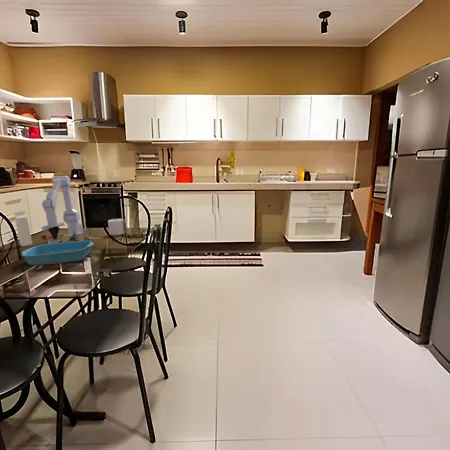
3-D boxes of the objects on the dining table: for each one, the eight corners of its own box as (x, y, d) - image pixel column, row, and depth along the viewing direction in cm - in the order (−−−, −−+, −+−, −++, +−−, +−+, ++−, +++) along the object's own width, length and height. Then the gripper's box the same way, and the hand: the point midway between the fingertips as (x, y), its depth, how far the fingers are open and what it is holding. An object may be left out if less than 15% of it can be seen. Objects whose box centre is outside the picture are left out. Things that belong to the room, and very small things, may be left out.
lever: (62, 234, 214) (61, 231, 213) (65, 235, 213) (64, 231, 212) (46, 239, 203) (45, 235, 202) (49, 239, 202) (48, 235, 201)
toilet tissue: (109, 232, 231) (108, 219, 229) (126, 230, 234) (125, 217, 232) (109, 236, 221) (107, 222, 219) (126, 234, 224) (125, 220, 222)
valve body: (72, 237, 223) (71, 232, 222) (78, 237, 221) (77, 232, 220) (47, 245, 205) (46, 239, 205) (52, 245, 203) (51, 240, 202)
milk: (32, 244, 209) (26, 212, 204) (21, 246, 205) (15, 213, 200) (30, 243, 213) (24, 211, 209) (20, 244, 210) (13, 212, 205)
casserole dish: (15, 269, 162) (12, 256, 160) (33, 256, 184) (31, 244, 182) (90, 262, 167) (88, 249, 166) (99, 250, 189) (97, 238, 187)
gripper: (58, 215, 209) (61, 235, 212) (36, 220, 196) (40, 241, 199) (65, 216, 205) (68, 236, 208) (44, 220, 193) (47, 241, 196)
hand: (55, 238), depth 203 cm, fingers closed
